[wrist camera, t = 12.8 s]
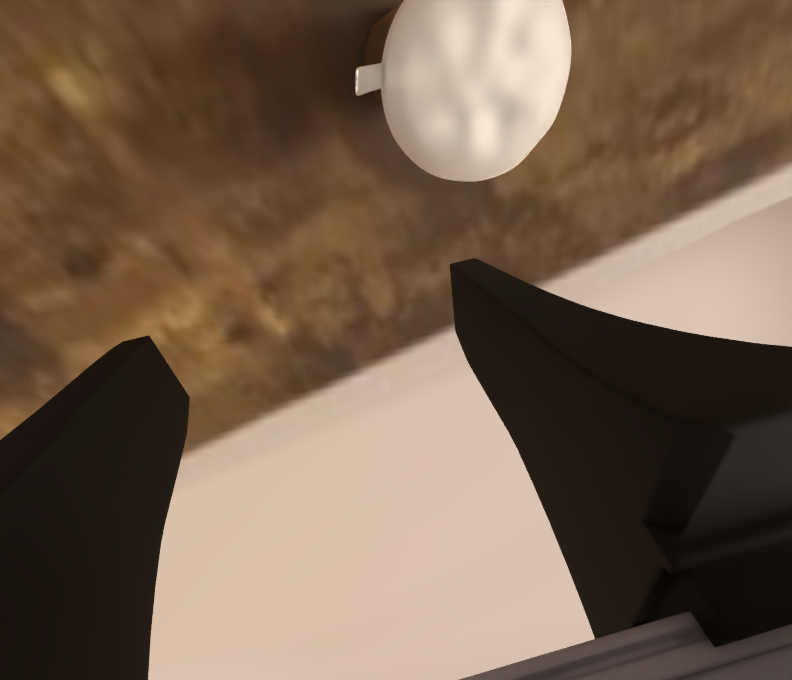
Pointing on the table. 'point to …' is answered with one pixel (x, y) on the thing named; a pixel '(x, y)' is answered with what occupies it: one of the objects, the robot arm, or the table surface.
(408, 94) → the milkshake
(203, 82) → the table surface
